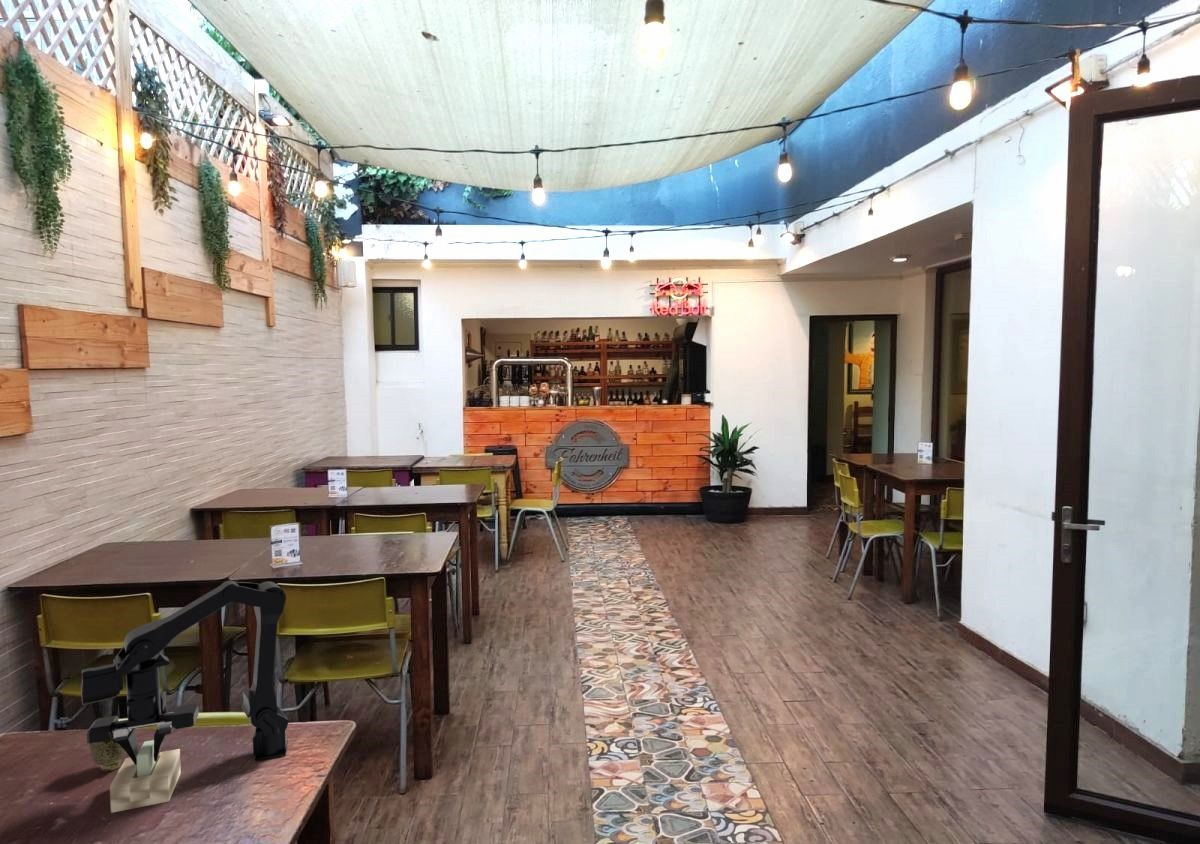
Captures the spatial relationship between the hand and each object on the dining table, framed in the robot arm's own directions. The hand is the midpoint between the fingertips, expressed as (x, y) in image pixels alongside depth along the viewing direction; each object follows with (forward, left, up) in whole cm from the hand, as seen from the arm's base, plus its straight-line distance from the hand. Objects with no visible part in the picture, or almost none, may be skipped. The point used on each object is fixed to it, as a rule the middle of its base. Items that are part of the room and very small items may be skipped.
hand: (146, 762), depth 141 cm
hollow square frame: (0, 0, -6) cm, 6 cm away
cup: (+10, -13, -7) cm, 18 cm away
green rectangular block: (0, 0, -5) cm, 5 cm away
